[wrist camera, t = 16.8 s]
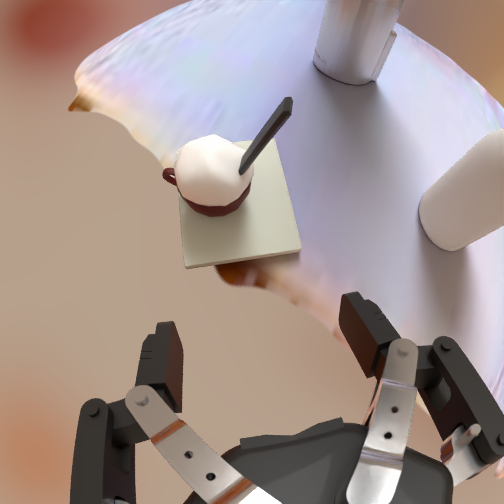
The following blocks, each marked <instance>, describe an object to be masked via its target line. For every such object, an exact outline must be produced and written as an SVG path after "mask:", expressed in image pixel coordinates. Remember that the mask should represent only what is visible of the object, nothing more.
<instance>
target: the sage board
mask: <svg viewBox="0 0 504 504" xmlns="http://www.w3.org/2000/svg"><path fill="white" fill-rule="evenodd" d="M253 141H254V140H251V141H242V142H233V144H234V145H236V146H237V147H239V148H242V149H244V150H246V151H247V149H248V148H249V146H250V145H251V143H252V142H253ZM178 153H179V151H177V157H178ZM178 193H179V192H178ZM179 208H180V222H181V234H182V246H183V256H184V265H185V267H186V269H190V268H197V267H205V266H212V265H218V264H225V263H232V262H238V261H245V260H251V259H258V258H264V257H271V256H277V255H284V254H290V253H297V252H300V251H301V249H302V246H301V242H300V237H299V233H298V229H297V225H296V220H295V216H294V212H293V208H292V204H291V200H290V196H289V192H288V188H287V184H286V180H285V176H284V172H283V169H282V165H281V161H280V157H279V154H278V150H277V147H276V143H275V139H274V138H273V139H271V140H270V142H269V143H268V144H267V145H266V147H265V148H264V149H263V150H262V152H261V153H260V154H259V155H258V157H257V158H256V159H255V161H254V175H253V177H252V181H251V187H250V192H249V194H248V196H247V197H246V199H245V200H244V201H243V202H242V204H241V205H240V206H239V208H238V209H237V210H235V211H233V212H231V213H229V214H227V215H226V216H219V217H208V216H205V215H203V214H200V213H197V212H195V211H194V210H193V209H192V208H191V207H190V206H189V205H188V204H187V203H186V202H185V201H184V199H183V198H182V197H181V196H180V194H179Z"/></svg>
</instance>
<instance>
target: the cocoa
mask: <svg viewBox="0 0 504 504" xmlns="http://www.w3.org/2000/svg"><path fill="white" fill-rule="evenodd" d="M292 105H293V100H292V98H291V97H285V98H284V100H283V101H282V102H281V104H280V105H279V106H278V108H277V109H276V110H275V112H274V113H273V114H272V116H271V117H270V118H269V120H268V121H267V123H266V124H265V125H264V127H263V128H262V129H261V131H260V132H259V134H258V135H257V136H256V138H255V139H254V141H253V142H252V143H251V145H250V146H249V148H248V149H247V151H246V150H244V149H242V148H239V147H237V146H236V145H234V144H233V143H231V142H229V141H228V140H225V139H223V138H221V137H219V136H217V135H215V134H213V135H209V136H205V137H202V138H199V139H196V140H193V141H190V142H188V143H187V144H186V145H184V146H183V147H181V148H180V150H179V153H178V157H177V160H176V165H175V169H174V168H166V169H165V170H164V171H163V174H162V175H163V178H164V179H165V180H166V181H168V182H169V183H171V184H173V185H175V186H177V188H178V192H179V194H180V196H181V197H182V198H183V199H184V201H185V202H186V203H187V204H188V205H189V206H190V207H191V208H192V209H193V210H194V211H195V212H197V213H200V214H203V215H205V216H208V217H219V216H226V215H227V214H229V213H231V212H233V211H235V210H237V209H238V208H239V206H240V205H241V204H242V202H243V201H244V200H245V199H246V197H247V196H248V194H249V192H250V187H251V181H252V177H253V175H254V161H255V159H256V158H257V157H258V155H259V154H260V153H261V152H262V150H263V149H264V148H265V147H266V145H267V144H268V143H269V142H270V140H271V139H272V138H273V137H274V135H275V134H276V133H277V132H278V130H279V129H280V128H281V127H282V126H283V124H284V123H285V122H286V121H287V119H288V118H289V117H290V116H291V112H292ZM170 175H173V176H175V178H173V177H171V176H170Z"/></svg>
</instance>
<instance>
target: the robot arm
mask: <svg viewBox="0 0 504 504" xmlns="http://www.w3.org/2000/svg"><path fill="white" fill-rule="evenodd" d="M403 3H404V0H327V3H326V7H325V11H324V16H323V20H322V24H321V28H320V33H319V37H318V41H317V45H316V48H315V53H314V58H313V61H314V63H315V65H316V67H317V68H318V69H319V70H320V71H321V72H323V73H324V74H326V75H327V76H329V77H331V78H333V79H336V80H338V81H341V82H344V83H348V84H354V85H362V84H366V83H368V82H370V81H377V78H378V76H379V74H380V72H381V70H382V68H383V65H384V63H385V61H386V59H387V57H388V54H389V52H390V50H391V48H392V46H393V43H394V41H395V39H396V36H397V34H396V32H395V31H394V30H393V28H394V25H395V23H396V20H397V18H398V16H399V13H400V11H401V8H402V6H403ZM339 326H340V329H341V331H342V333H343V335H344V336H345V338H346V340H347V342H348V344H349V346H350V347H351V349H352V351H353V353H354V355H355V357H356V358H357V360H358V362H359V364H360V366H361V368H362V370H363V372H364V373H365V376H366V377H367V378H370V377H373V376H375V377H376V379H377V381H376V384H375V387H374V391H373V394H372V398H371V401H370V404H369V408H368V410H367V413H366V416H365V419H364V421H363V423H362V425H360V424H356V423H343V420H342V418H341V417H340V418H337V419H333V420H330V421H326V422H322V423H318V424H316V425H314V426H312V427H310V428H308V429H306V430H305V431H302V432H300V433H298V434H296V435H291V436H289V435H288V436H287V435H285V436H284V435H262V436H255V437H249V438H241V439H240V444H241V445H239V446H236V447H234V448H232V449H230V450H228V451H227V452H225V453H224V454H223V455H221V456H219V455H218V454H217V453H216V452H215V451H213V450H212V449H211V448H210V447H209V446H208V445H207V444H206V443H205V442H204V441H203V440H202V439H201V438H200V437H199V436H198V435H197V434H196V433H195V432H194V431H193V430H192V429H191V428H190V427H189V426H188V425H187V424H186V423H185V422H184V421H182V420H180V419H179V418H178V417H177V415H176V414H175V413H182V383H183V348H182V344H181V341H180V338H179V335H178V332H177V329H176V326H175V323H174V322H173V321H169V322H160V323H157V327H156V333H155V334H149V335H148V336H147V338H146V339H145V340H144V342H143V345H142V350H141V355H140V361H139V366H138V372H137V377H136V383H135V387H134V388H132V389H131V390H130V391H129V392H128V393H127V395H126V398H124V399H122V400H119V401H116V402H112V403H109V404H106V403H105V401H103V400H101V399H98V398H94V399H90V400H89V401H87V402H85V403H84V405H83V406H82V408H81V411H80V416H79V421H78V428H77V434H76V440H75V448H74V457H73V465H72V475H71V490H70V504H136V492H135V443H139V442H142V441H146V440H149V439H151V442H152V443H153V444H154V446H155V447H156V448H157V450H158V451H159V452H160V453H161V454H162V456H163V457H164V458H165V459H166V460H167V461H168V463H169V464H170V465H171V466H172V467H173V468H174V469H175V470H176V472H177V473H178V474H179V475H180V476H181V477H182V478H183V479H184V480H185V481H186V483H188V484H189V486H190V487H191V488H192V489H193V490H194V491H193V492H192V493H191V495H190V496H189V497H188V499H187V500H186V501H185V502H184V503H183V504H452V495H453V487H454V486H456V485H457V484H459V483H461V482H462V481H464V480H467V479H471V478H472V477H474V476H476V475H477V474H479V473H480V472H482V471H483V470H485V469H486V468H488V467H489V466H491V465H492V464H493V463H495V462H496V461H498V460H499V459H500V458H502V457H503V456H504V415H503V413H502V411H501V409H500V408H499V406H498V404H497V403H496V401H495V399H494V398H493V396H492V394H491V393H490V391H489V390H488V388H487V386H486V385H485V383H484V382H483V380H482V379H481V377H480V376H479V374H478V373H477V371H476V370H475V368H474V367H473V365H472V364H471V362H470V361H469V360H468V358H467V357H466V355H465V354H464V352H463V351H462V350H461V348H460V347H459V346H458V344H457V343H456V342H455V341H454V340H453V339H452V338H450V337H446V336H441V337H438V338H436V339H435V340H434V342H433V345H429V346H416V344H415V343H413V342H412V341H410V340H408V339H403V338H401V337H400V336H399V334H398V333H397V331H396V330H395V329H394V327H393V326H392V325H391V323H390V322H389V320H388V319H386V316H385V315H384V314H383V313H382V311H381V310H380V308H379V307H378V306H377V305H376V304H375V303H373V302H372V301H370V300H369V299H368V300H364V299H363V297H362V296H361V295H360V293H359V292H352V293H347V294H343V295H342V297H341V305H340V313H339ZM443 378H444V379H443ZM446 383H447V384H446ZM449 388H450V389H449ZM417 390H418V392H419V394H420V396H421V398H422V399H423V401H424V403H425V405H426V407H427V409H428V411H429V413H430V415H431V417H432V419H433V421H434V423H435V425H436V427H437V430H438V432H439V434H440V436H441V438H442V440H443V444H442V446H441V455H440V458H441V460H442V463H441V462H440V461H437V460H435V459H433V458H430V457H428V456H426V455H424V454H422V453H419V452H417V451H415V450H413V449H411V448H409V447H407V446H406V443H407V439H408V435H409V430H410V426H411V421H412V416H413V411H414V406H415V400H416V394H417Z"/></svg>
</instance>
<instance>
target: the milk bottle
mask: <svg viewBox="0 0 504 504" xmlns="http://www.w3.org/2000/svg"><path fill="white" fill-rule="evenodd" d="M419 215H420V220H421V223H422V226H423V228H424V230H425V232H426V234H427V235H428V237H429V238H430V239H431V240H432V242H433V243H434V244H436V245H437V246H438V247H440V248H442V249H444V250H447V251H456V250H458V249H460V248H463V247H465V246H467V245H469V244H471V243H473V242H474V241H476V240H478V239H480V238H482V237H484V236H486V235H487V234H489V233H491V232H493V231H495V230H496V229H498V228H500V227H501V226H503V225H504V128H503V129H499V130H496V131H494V132H492V133H490V134H488V135H487V136H485V137H484V138H482V139H481V140H480V141H479V142H478V143H477V144H476V145H475V146H473V147H472V148H471V149H470V150H469V151H468V152H467V153H466V154H465V155H464V156H463V157H462V158H461V159H460V160H459V161H458V162H457V163H456V164H454V165H453V166H452V167H451V168H450V169H449V170H448V171H447V172H446V173H445V174H444V175H443V176H442V177H441V178H440V179H439V180H437V181H436V182H435V183H434V184H433V185H432V186H431V187H430V188H429V189H428V190H427V191H426V192H425V193H424V194H423V196H422V198H421V201H420V205H419Z"/></svg>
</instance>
